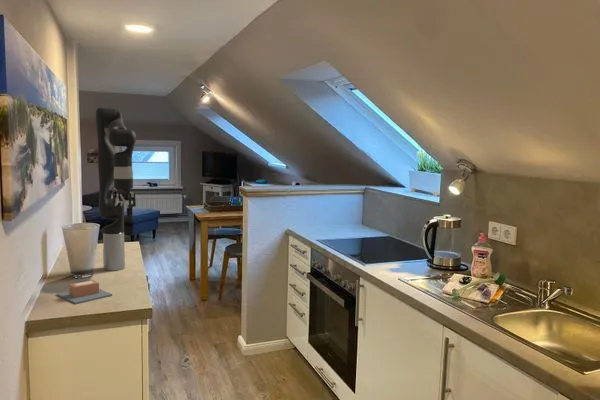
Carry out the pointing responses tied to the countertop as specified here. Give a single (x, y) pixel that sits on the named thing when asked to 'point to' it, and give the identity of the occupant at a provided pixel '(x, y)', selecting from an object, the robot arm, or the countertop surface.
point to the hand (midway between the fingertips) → (124, 215)
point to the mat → (83, 298)
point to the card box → (83, 288)
